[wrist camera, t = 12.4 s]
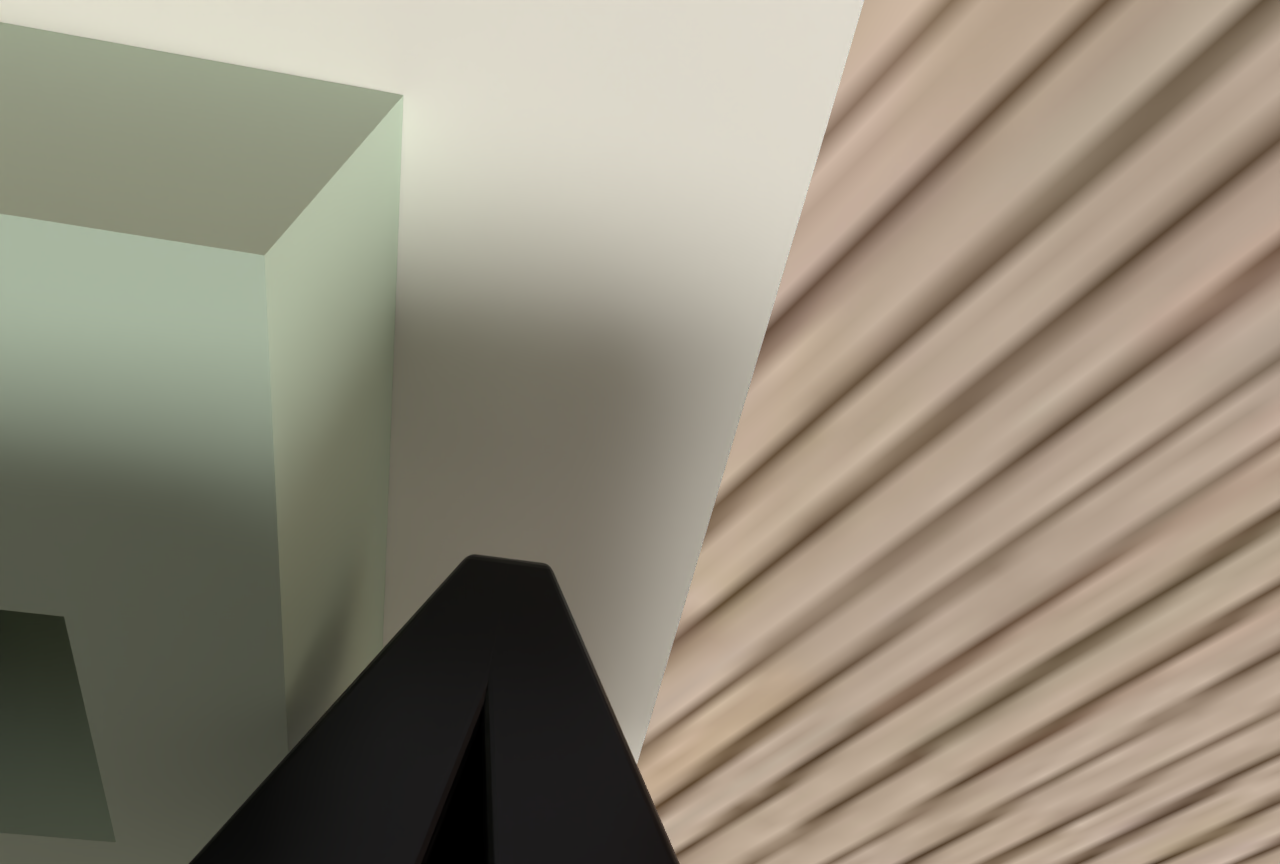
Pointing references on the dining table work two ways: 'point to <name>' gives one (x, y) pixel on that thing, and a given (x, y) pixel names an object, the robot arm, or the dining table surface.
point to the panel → (183, 432)
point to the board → (559, 266)
